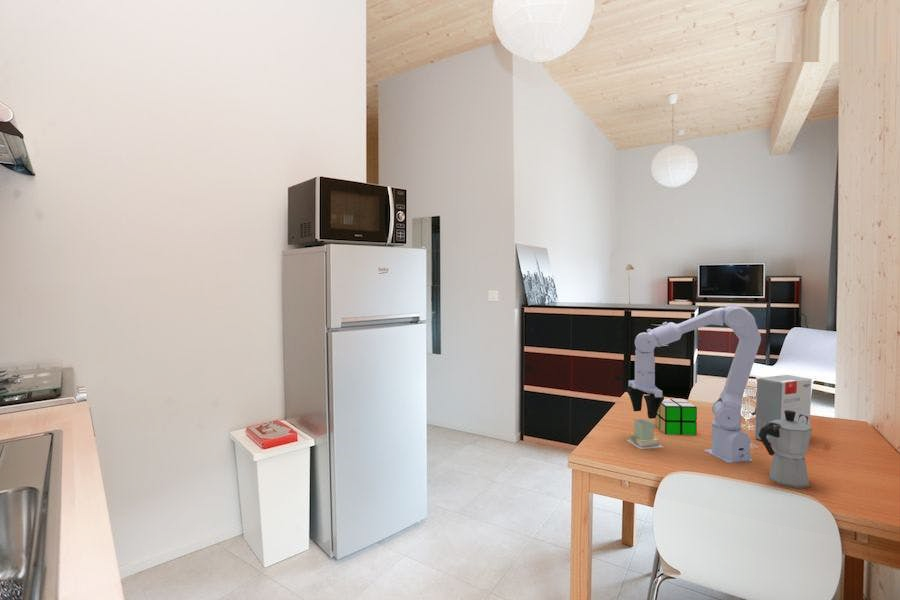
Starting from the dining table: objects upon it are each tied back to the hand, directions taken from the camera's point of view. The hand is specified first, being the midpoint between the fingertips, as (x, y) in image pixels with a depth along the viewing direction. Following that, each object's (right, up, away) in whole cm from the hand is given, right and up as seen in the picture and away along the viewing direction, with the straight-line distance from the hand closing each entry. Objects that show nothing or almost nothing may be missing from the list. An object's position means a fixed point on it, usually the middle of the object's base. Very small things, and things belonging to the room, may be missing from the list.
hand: (644, 414), depth 139 cm
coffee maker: (+25, -11, -25) cm, 37 cm away
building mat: (+3, -10, 0) cm, 10 cm away
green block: (0, -7, 0) cm, 7 cm away
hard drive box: (+46, -9, +4) cm, 47 cm away
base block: (0, -9, 0) cm, 9 cm away
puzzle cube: (+16, -9, +13) cm, 23 cm away
